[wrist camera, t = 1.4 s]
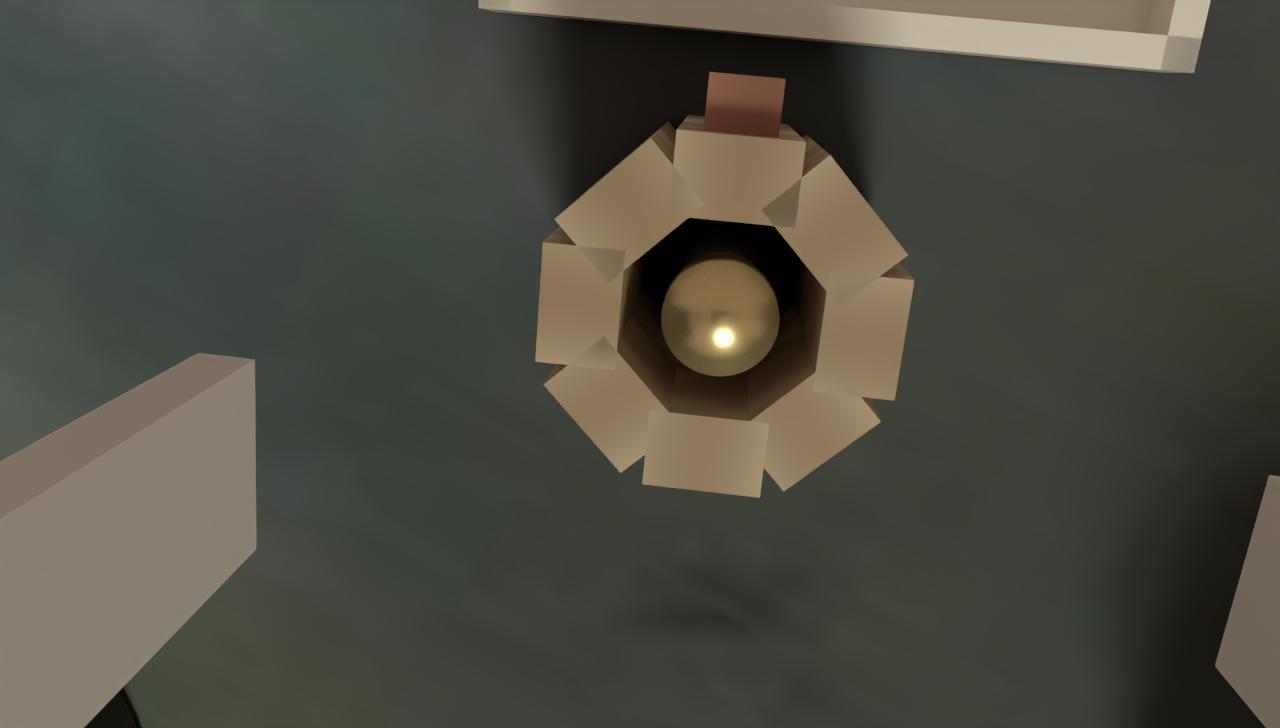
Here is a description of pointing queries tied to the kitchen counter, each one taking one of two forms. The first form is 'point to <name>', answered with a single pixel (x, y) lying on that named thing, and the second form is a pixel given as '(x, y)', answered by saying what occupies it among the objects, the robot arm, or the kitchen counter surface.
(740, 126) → the ring
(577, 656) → the kitchen counter surface
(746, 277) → the stake
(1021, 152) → the kitchen counter surface
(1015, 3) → the tray
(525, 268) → the kitchen counter surface
